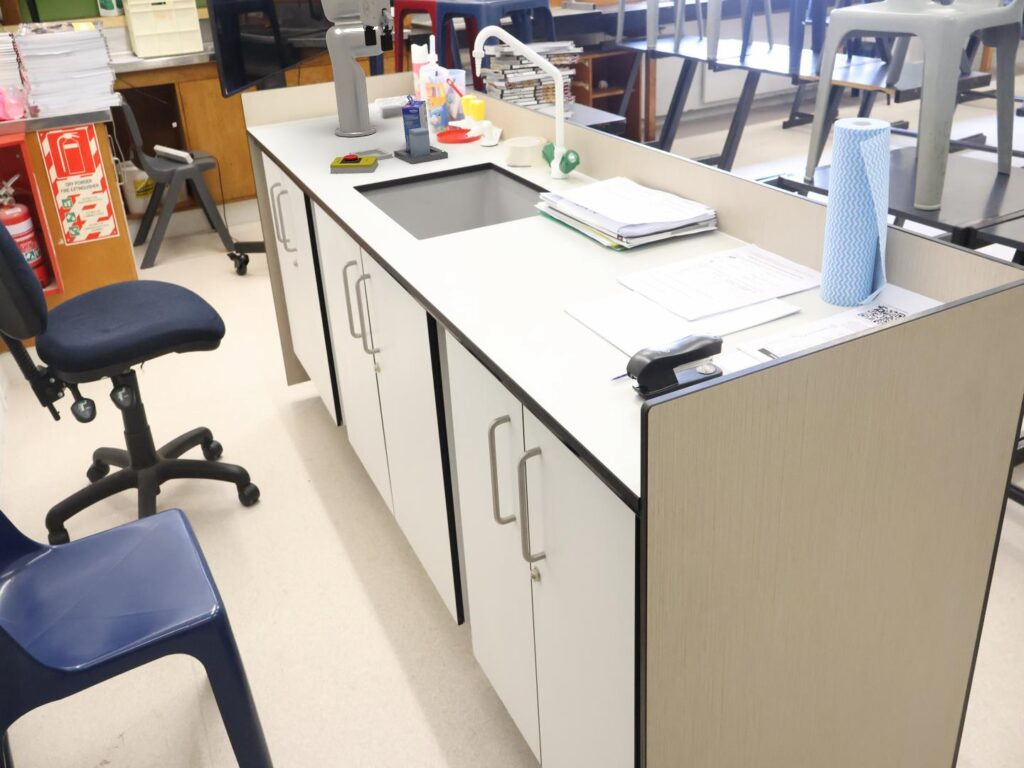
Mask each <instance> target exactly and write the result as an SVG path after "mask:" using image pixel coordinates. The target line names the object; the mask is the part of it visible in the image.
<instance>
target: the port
mask: <svg viewBox="0 0 1024 768" xmlns="http://www.w3.org/2000/svg"><path fill="white" fill-rule="evenodd" d="M448 154H449V153H448V151H446V150H443V149H441V148H438V147H436V146H432V145H430V154H425V155H419V156H413V155H411V148H409V149H407V148H404V149H403V148H402V149H396V150H394V151H393V156H394V157H395V158H397V159H399V160H401V161H403V162H406V163H408V164H410V165H417V164H421V163H428V162H433V161H438V160H439V161H440V160H444V159H449V155H448ZM394 157H393V158H394Z"/></svg>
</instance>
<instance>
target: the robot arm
mask: <svg viewBox="0 0 1024 768" xmlns="http://www.w3.org/2000/svg"><path fill="white" fill-rule="evenodd" d="M320 2H321V5H322V9H323V12H324V16H325V17H326V19H327V20H328V21H329V22H331V23H334V24H335V23H337V24H336V25H333V26H331V27H329V28H328V29H327V31H326V34H325V41H326V46H327V51H328V53H329V54H328V55H329V58H330V62H331V66H332V67H331V68H332V74H333V82H334V84H333V85H334V90H335V97H336V107H337V115H338V116H337V117H338V126H339V127H337V128H335V129H334V133H335V135H336V136H339V137H347V138H350V137H351V138H353V137H354V138H355V137H361V136H362V137H364V136H368V135H372V134H375V132H377V130H376V126H374V125H371V119H370V108H369V99H368V89H367V78H366V73H365V71H364V69H363V67H362V66H361V65H360V64H359V63H358V62H357V60H356V59H357V58H365V57H374V56H380V55H381V54H383V53H384V52H389V51H390V52H391V51H393V49H394V43H393V33H394V32H393V29H394V18H393V17H392V10H391V0H320ZM353 22H357V23H353ZM338 23H342V24H338Z"/></svg>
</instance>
